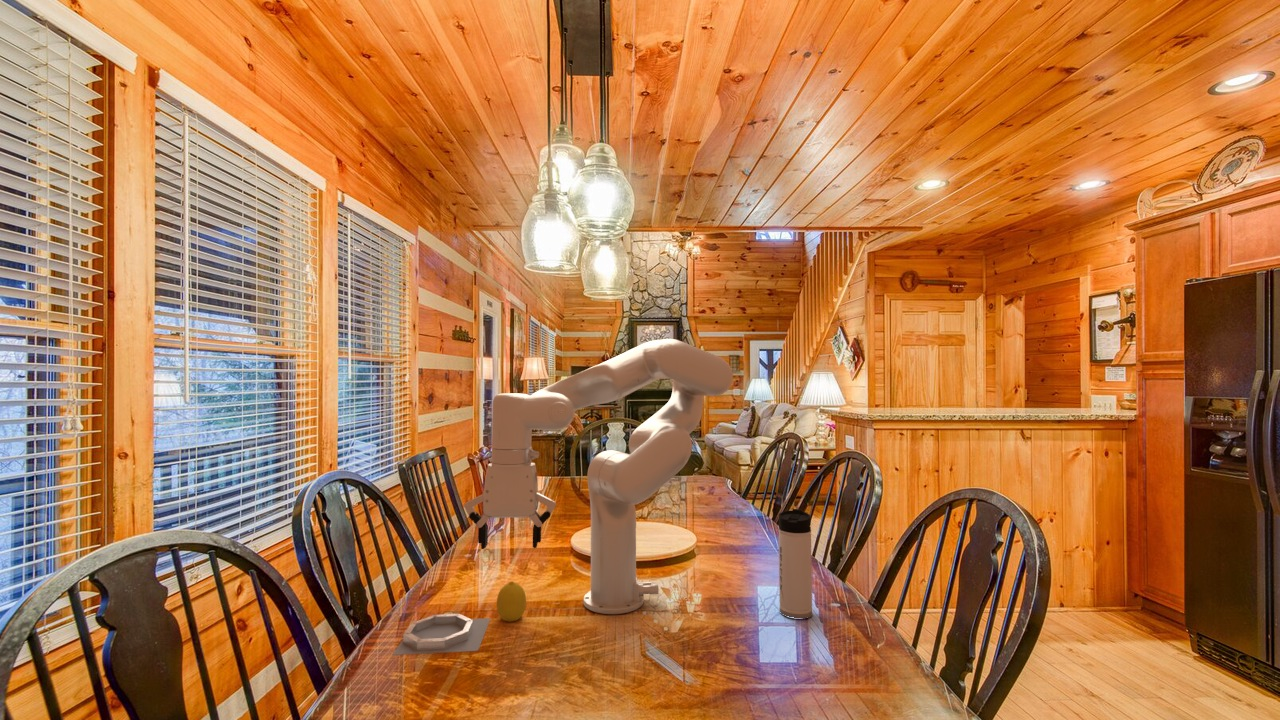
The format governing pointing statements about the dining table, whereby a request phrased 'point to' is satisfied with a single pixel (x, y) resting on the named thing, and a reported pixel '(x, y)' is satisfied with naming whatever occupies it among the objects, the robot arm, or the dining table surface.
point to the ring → (438, 643)
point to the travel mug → (795, 564)
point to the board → (446, 631)
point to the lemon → (511, 602)
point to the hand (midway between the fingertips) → (509, 546)
